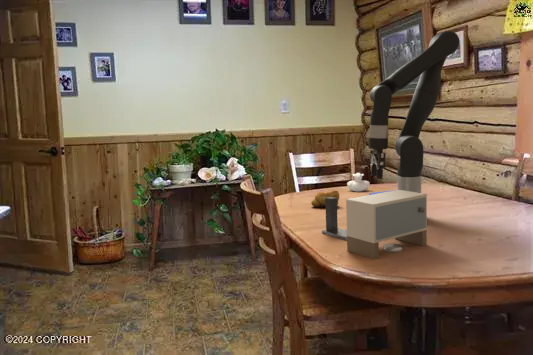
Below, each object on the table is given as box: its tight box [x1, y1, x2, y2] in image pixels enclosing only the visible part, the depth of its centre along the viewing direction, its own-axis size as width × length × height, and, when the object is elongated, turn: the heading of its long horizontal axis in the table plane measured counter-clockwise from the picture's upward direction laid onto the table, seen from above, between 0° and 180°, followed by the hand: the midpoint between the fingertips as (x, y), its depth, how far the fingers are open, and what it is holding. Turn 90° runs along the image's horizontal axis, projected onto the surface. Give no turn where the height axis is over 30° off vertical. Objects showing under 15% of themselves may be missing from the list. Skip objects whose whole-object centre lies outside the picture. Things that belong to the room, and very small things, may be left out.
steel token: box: [382, 242, 404, 253], centre depth 164 cm, size 6×6×2 cm
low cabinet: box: [345, 189, 428, 260], centre depth 164 cm, size 14×24×17 cm, turn 123°
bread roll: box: [310, 190, 340, 208], centre depth 236 cm, size 13×10×8 cm
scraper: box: [321, 197, 347, 241], centre depth 181 cm, size 20×7×13 cm, turn 33°
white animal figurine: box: [346, 172, 371, 193], centre depth 271 cm, size 12×8×11 cm
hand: (376, 177), depth 203 cm, fingers open, 8 cm apart
